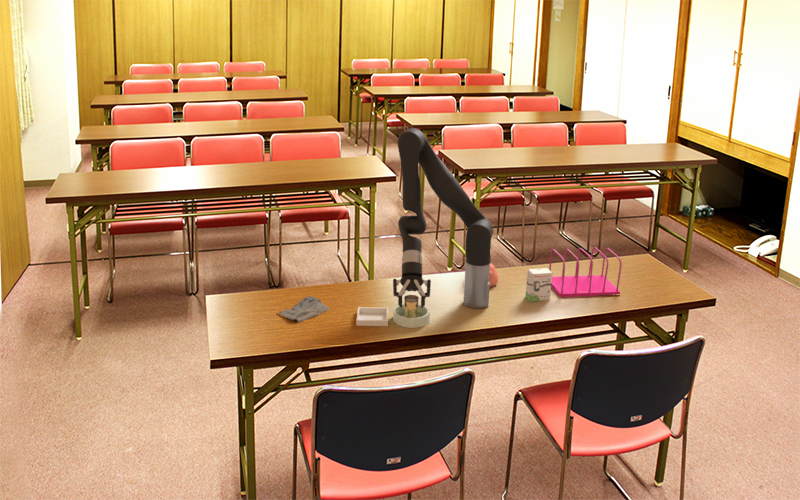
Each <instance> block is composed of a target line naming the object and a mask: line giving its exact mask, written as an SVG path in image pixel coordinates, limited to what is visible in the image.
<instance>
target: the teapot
mask: <svg viewBox="0 0 800 500" xmlns="http://www.w3.org/2000/svg"><path fill="white" fill-rule="evenodd" d="M489 283H490V288H491V287H494V286H495V285H497V283H499V275H498V271H497V268H496V267H495V266H494V264H493V263H491V262H490V275H489Z"/></svg>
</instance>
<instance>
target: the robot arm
mask: <svg viewBox="0 0 800 500" xmlns="http://www.w3.org/2000/svg"><path fill="white" fill-rule="evenodd" d="M397 147H398V153H399V154H398V155H399V160H400V165H401V166H400V167H401V178H402V179H401V180H402V181H401V182H402V188H401V189H402V207H403V210H405V211H408V212H412V213H414V214H415V215H402V216H401V217H399V219H398V222H397V225H398V229H399V230H398V231H399V232H400V236H401V241H402V256H401V278H400V279H396V278H393V280H392V288H393V289H392V290H393V293H392V294H393V297H396V298H398V300H397V304H398V305H399V306H400V308H402V304H403V297H404V295H405V294H406V292H417V293H418V295H420V304H421V308H423V306H426V298H429V297H430V296H431V284H432V281H431V279H423V255H422V240H421V239H420V238H419V237H416V236H412V235H423V234H424V233H425V232H426V230H427V221H426V219H425V215H424V212H423V207H422V206H423V205H422V185H421V184H422V183H421V179H420V175H419V166H420V167H421V169H422V171H423V173H424V175H425V178H426V179H427V180H426V181H427V182H428V184H429V186H430V188H431V190H432V191H433V192H434V194H435V196H437V198H438V199H439V200H440V201H441V202H442V204H444V205H445V206H446V207H447V208H448V209H450V210H451V211H452V212H454V213H455V214H456V215H458V217H459V218H460V220H461V221H462V222H463V223H464V225H465V226H466V229H467V230H466V235H465V249H464V251H465V268H464V269H465V270H464V284H463V285H464V291H463V305H465V306H466V307H468V308H471V309H482V308H488V307H489V305H490V304H489V303H490V288H491V287H490V283H489V275H490V263H491V260H492V259H491V258H492V257H491V247H492V246H491V244H492V243H491V242H492V237H493V235H494V228H493V225H492V223H491V221H489V220H488V218H487V217H486V216H485V215H484V214H483V213H482V212H481V211H480V210H479V209H478V208H477V207H476V205H475V204H474V202H472V200H471V198H470V197H469V195H468V194H467V192H466V190H464V188H463V187H462V186H461V184H460V182H459V181H458V180H457V178H456V177H455V176H454V175H453V173H452V172H451V171H450V169H448V167H447V166H446V165H445V163H444V162H443V161H442V160H441V158H440V157H439V156H438V155H437V153H435V150H434V149H433V147H432V146H431V144H430V143H429V141H428V139H427V137H426V135H425V134H424V133H423V132H422V131H421V130H420V129H419V128H415V127H410V128H408V129H406V130H404V131H403V132H401V133H400V135H399V136H398V139H397ZM400 284H401V286H402V287H401V289H400V291H399V292H398V289H397V287H399V285H400ZM423 284H424V286H425V287H426V292H424V290H423V288H422V286H423ZM398 305H397V306H398Z"/></svg>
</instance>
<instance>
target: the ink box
mask: <svg viewBox="0 0 800 500" xmlns="http://www.w3.org/2000/svg"><path fill="white" fill-rule="evenodd" d="M526 273H527V276H526V285H525V286H526V287H525V295H524V296H525V299H527V301H529V302H538V301H539V302H543V301H550V298H551V289H552V287H551V282H552V277H553V272H552V270H551V271H550V270H549V267H548V268H546V267H544V268H542V267H541V268H529V269H527V272H526Z"/></svg>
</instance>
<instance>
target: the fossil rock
mask: <svg viewBox="0 0 800 500" xmlns="http://www.w3.org/2000/svg"><path fill="white" fill-rule="evenodd" d="M329 309H330V307H329V306H328V305H325V304H324V303H323V302H322V300H320V299H319V298H317V297H314V296H305V297H304V298H303V299H301V300H300V301H298V302H297V304H295V305H293V307H292V308H289V309H283V310H281V311H278V312H279V314H280V315H279V314H278V315H279V316H281V315H282V316H284V317H286V318H285V319H287V318H288V320H291V321H294V322H295V320H296V322H298V323H300V321H302V322H304V320H305V321H307V320H309V319H312V318H314V317H318V316H319V315H320V314H323V313H326V312H328V311H329ZM282 316H281V317H282ZM284 317H283V318H284Z"/></svg>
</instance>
